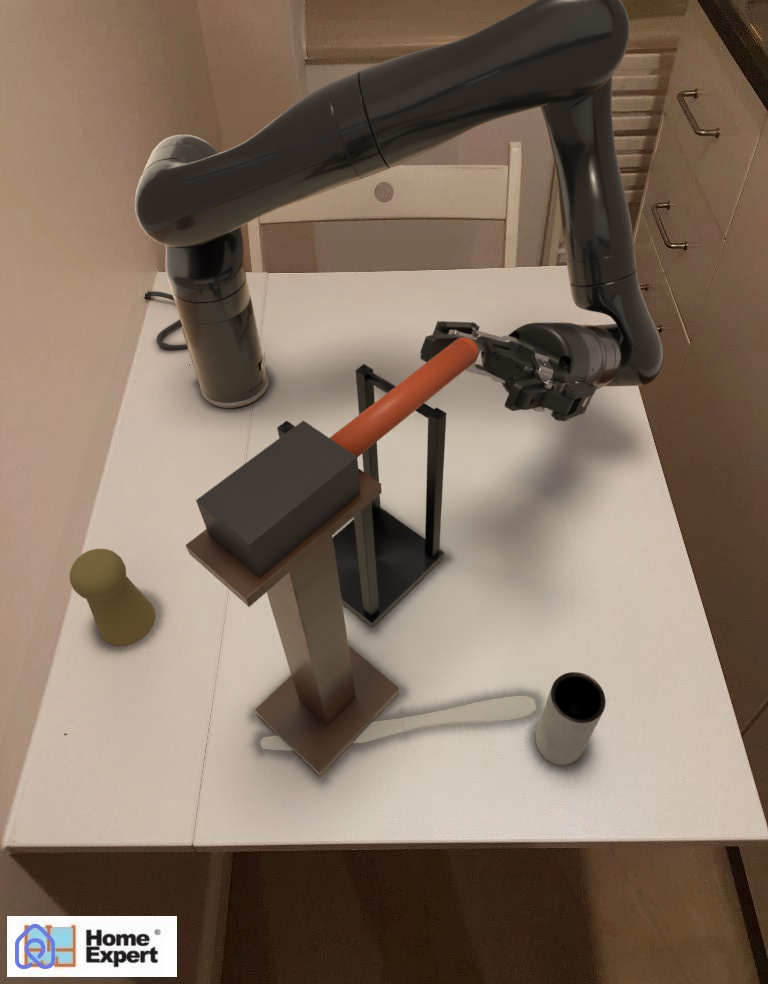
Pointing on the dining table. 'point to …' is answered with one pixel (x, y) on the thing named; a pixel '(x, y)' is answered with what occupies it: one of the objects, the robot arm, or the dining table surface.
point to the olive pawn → (112, 597)
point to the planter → (569, 717)
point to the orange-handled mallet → (313, 471)
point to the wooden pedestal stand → (310, 640)
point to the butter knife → (436, 719)
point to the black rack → (388, 525)
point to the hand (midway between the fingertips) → (468, 372)
